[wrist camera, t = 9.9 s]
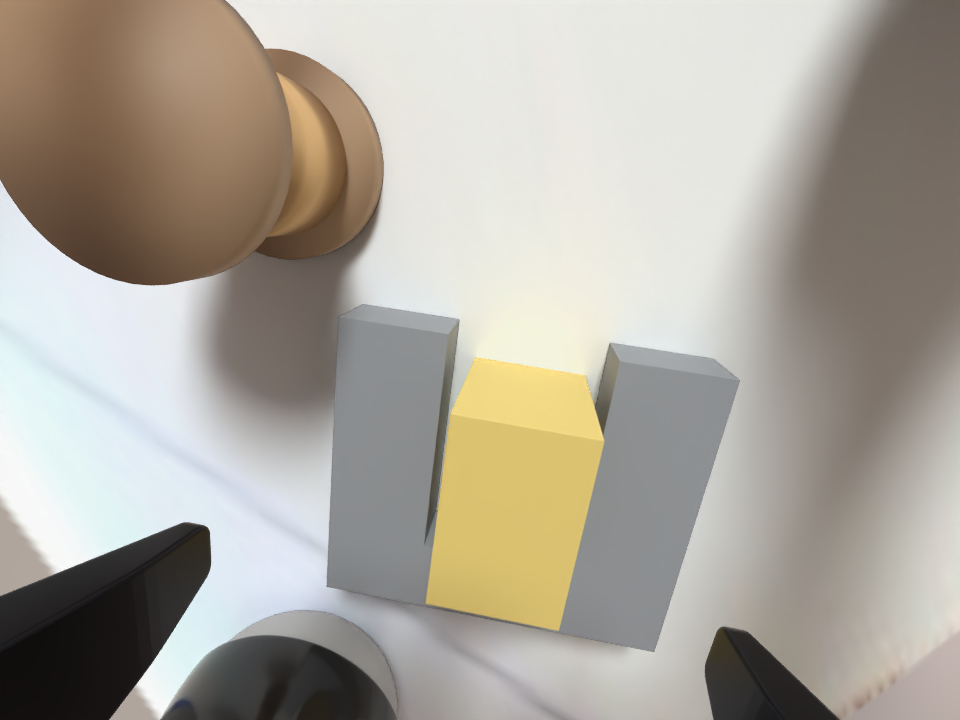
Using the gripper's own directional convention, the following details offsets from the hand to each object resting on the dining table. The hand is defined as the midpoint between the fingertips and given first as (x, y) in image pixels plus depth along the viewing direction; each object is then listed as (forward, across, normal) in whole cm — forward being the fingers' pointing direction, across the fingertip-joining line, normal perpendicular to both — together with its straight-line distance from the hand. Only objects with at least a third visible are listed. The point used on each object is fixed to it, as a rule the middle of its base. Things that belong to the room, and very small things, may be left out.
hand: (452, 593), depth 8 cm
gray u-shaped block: (+12, -1, +4) cm, 13 cm away
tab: (+12, -1, +3) cm, 13 cm away
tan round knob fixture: (+12, +9, -7) cm, 17 cm away
